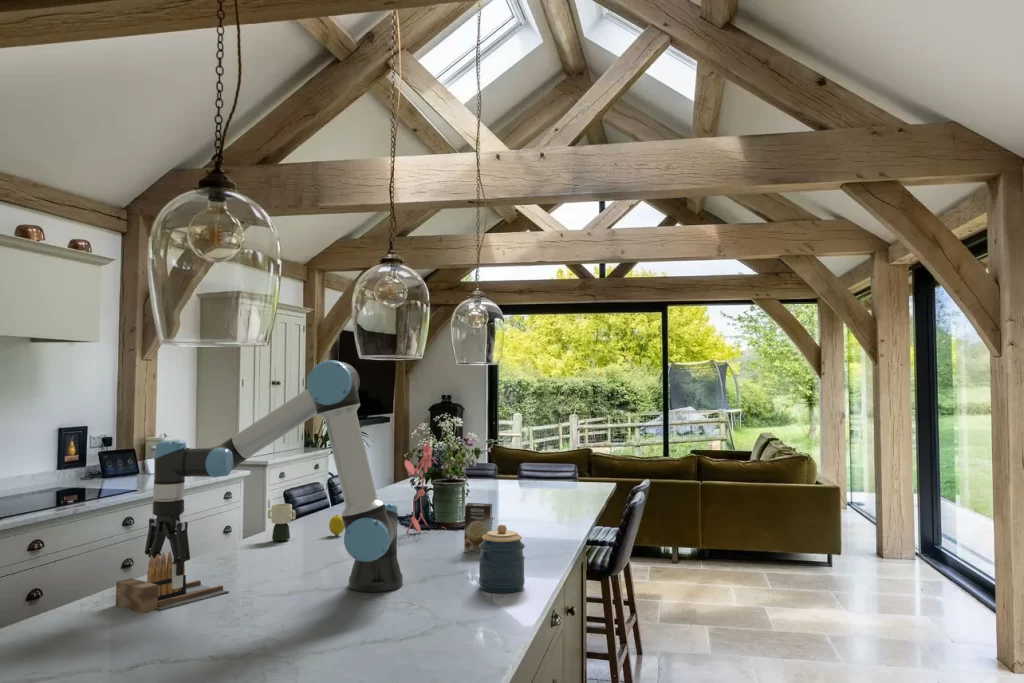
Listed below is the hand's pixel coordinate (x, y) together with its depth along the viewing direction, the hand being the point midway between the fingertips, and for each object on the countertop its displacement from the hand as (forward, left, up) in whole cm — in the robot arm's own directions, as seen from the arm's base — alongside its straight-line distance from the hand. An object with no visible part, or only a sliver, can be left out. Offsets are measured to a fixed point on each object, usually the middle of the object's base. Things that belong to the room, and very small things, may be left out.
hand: (166, 585), depth 198 cm
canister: (-67, -59, -4) cm, 90 cm away
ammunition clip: (0, 0, -4) cm, 4 cm away
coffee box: (-34, -94, -4) cm, 101 cm away
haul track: (0, -2, -4) cm, 4 cm away
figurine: (+4, -113, -4) cm, 114 cm away
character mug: (+36, -68, -4) cm, 77 cm away
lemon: (+26, -86, -4) cm, 90 cm away
